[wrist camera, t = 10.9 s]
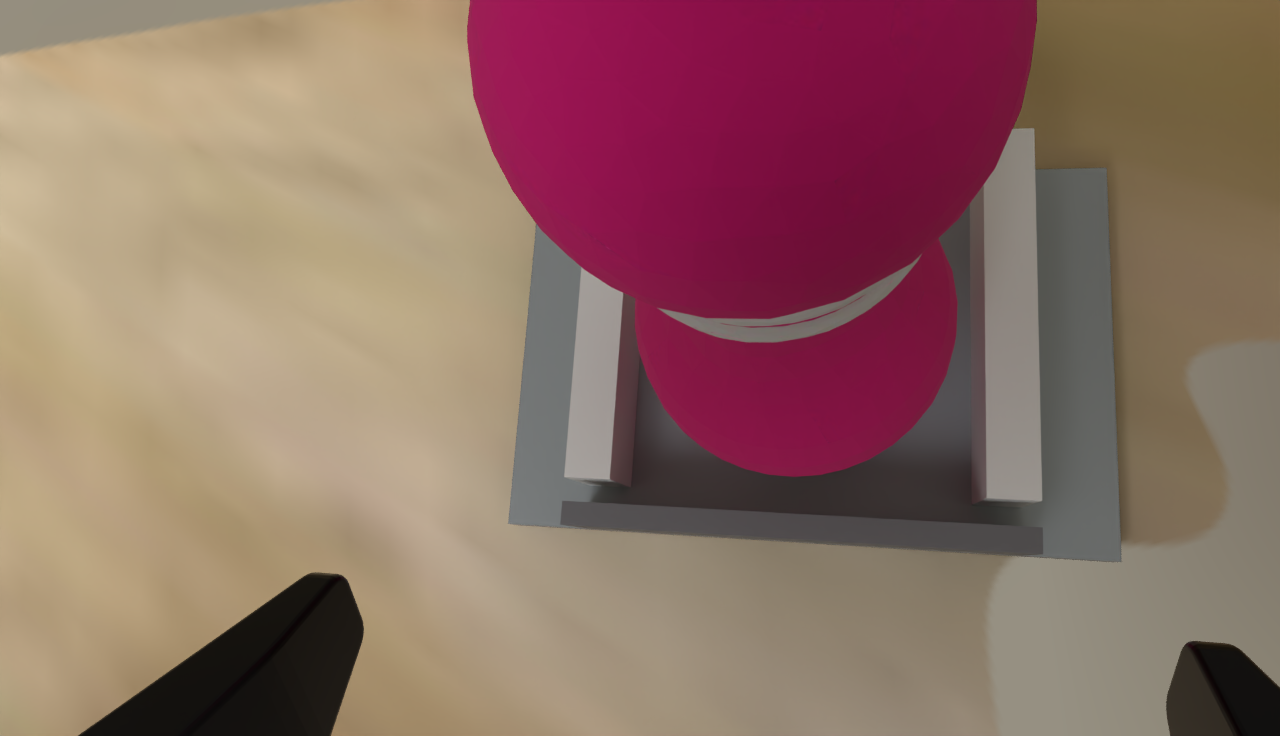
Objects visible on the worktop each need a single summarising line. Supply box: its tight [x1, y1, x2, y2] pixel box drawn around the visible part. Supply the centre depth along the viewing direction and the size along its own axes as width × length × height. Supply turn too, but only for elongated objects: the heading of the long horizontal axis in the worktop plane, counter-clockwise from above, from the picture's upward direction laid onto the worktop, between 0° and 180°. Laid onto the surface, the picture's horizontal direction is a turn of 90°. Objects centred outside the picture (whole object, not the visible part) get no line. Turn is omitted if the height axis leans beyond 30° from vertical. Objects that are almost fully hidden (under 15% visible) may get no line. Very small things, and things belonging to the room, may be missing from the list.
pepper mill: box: [467, 0, 1037, 477], centre depth 16 cm, size 7×7×20 cm
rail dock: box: [508, 128, 1121, 562], centre depth 24 cm, size 10×16×3 cm, turn 86°
